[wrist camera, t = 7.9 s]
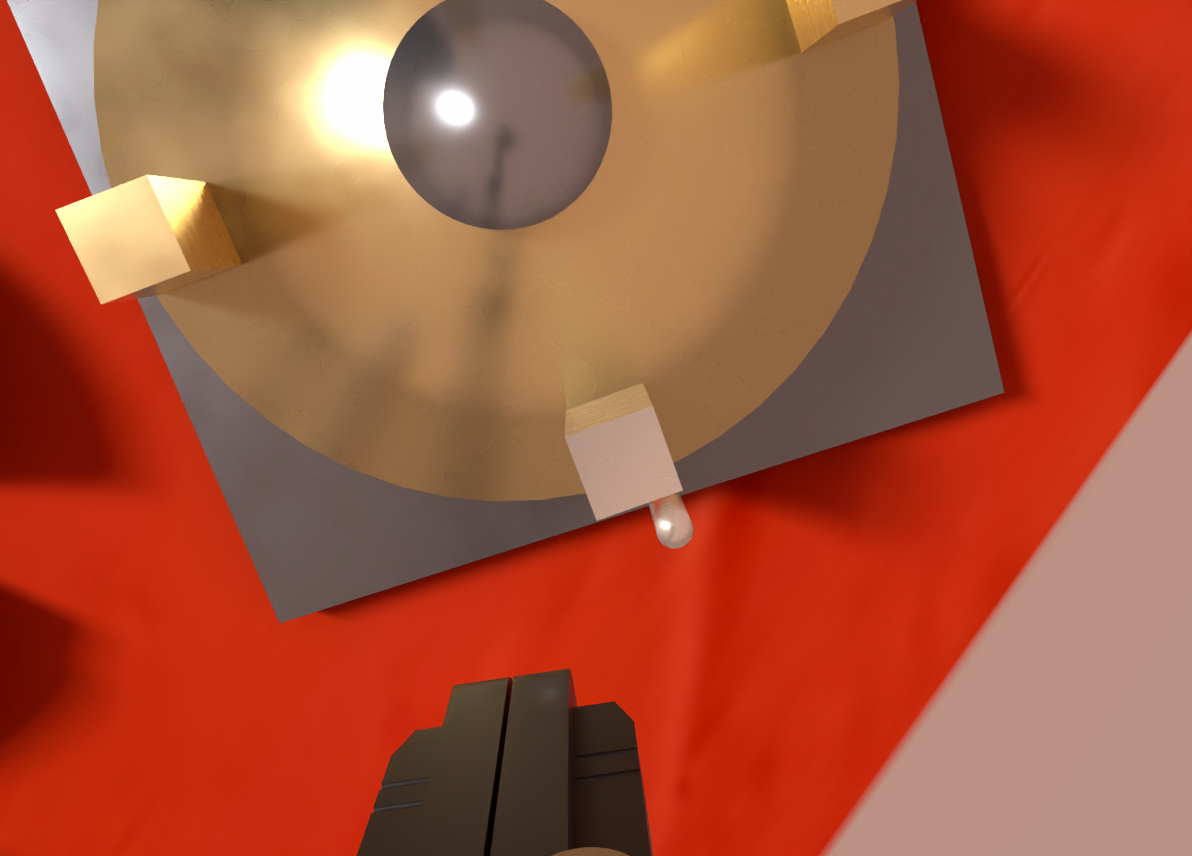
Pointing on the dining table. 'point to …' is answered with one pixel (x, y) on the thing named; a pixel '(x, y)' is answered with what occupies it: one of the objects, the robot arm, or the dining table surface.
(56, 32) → the base plate
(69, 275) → the dining table surface
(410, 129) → the round brass tray
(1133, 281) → the dining table surface
